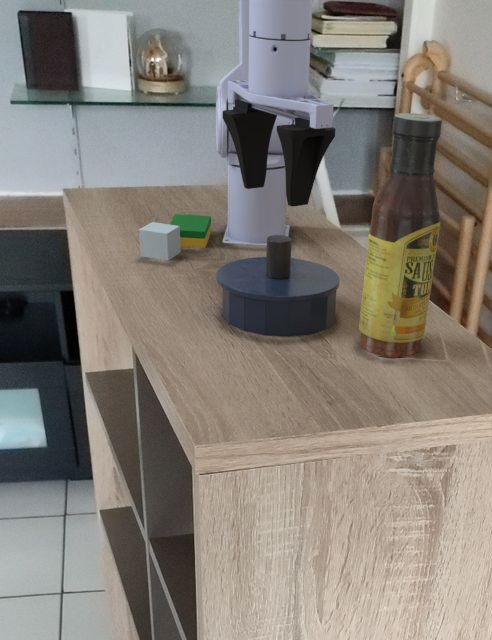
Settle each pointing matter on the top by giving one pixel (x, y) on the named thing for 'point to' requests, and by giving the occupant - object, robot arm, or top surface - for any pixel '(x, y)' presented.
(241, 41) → the robot arm
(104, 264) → the top surface
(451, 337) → the top surface
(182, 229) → the scrubber
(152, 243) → the ice cube
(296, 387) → the top surface
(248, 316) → the pot
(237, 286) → the lid
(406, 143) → the sauce bottle
